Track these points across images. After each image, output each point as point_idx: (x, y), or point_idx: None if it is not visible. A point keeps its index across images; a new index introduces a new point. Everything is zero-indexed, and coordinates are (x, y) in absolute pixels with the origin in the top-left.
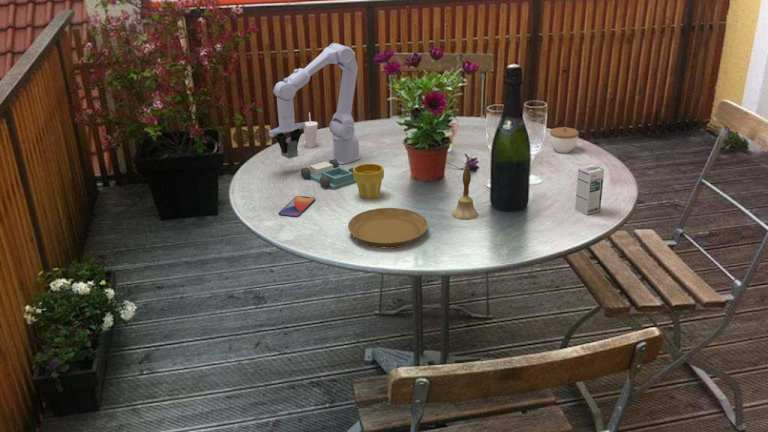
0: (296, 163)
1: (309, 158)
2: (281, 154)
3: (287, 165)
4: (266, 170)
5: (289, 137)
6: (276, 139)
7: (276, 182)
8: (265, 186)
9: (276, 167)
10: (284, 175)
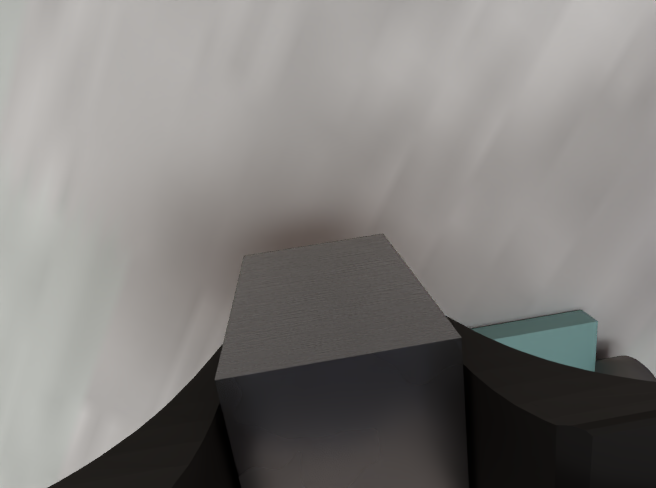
0: (449, 78)
1: (614, 22)
2: (244, 260)
3: (356, 78)
4: (125, 86)
5: (460, 344)
6: (88, 470)
7: (124, 392)
8: (19, 422)
9: (243, 65)
10: (233, 294)
